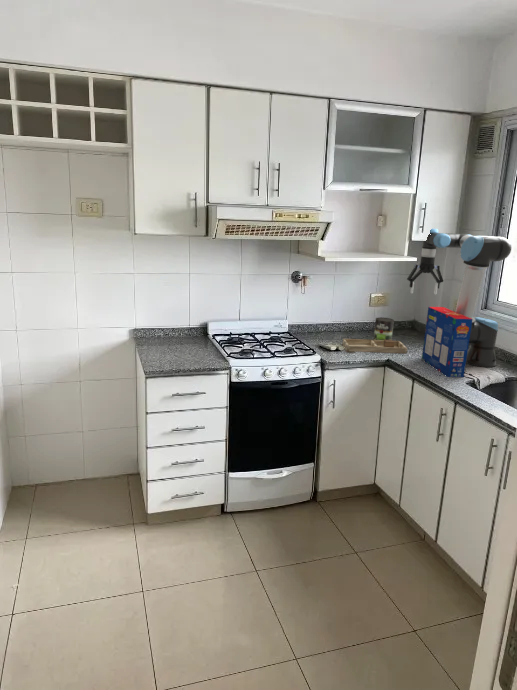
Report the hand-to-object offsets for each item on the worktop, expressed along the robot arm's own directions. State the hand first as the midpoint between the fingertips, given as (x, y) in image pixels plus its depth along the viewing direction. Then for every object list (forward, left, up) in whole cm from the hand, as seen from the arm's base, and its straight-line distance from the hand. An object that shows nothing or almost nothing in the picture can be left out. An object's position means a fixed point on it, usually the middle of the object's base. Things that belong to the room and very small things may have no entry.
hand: (423, 293), depth 298 cm
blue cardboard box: (-51, +3, -29) cm, 59 cm away
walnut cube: (-22, +23, -28) cm, 42 cm away
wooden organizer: (-22, +31, -29) cm, 47 cm away
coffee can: (-7, +22, -29) cm, 37 cm away
